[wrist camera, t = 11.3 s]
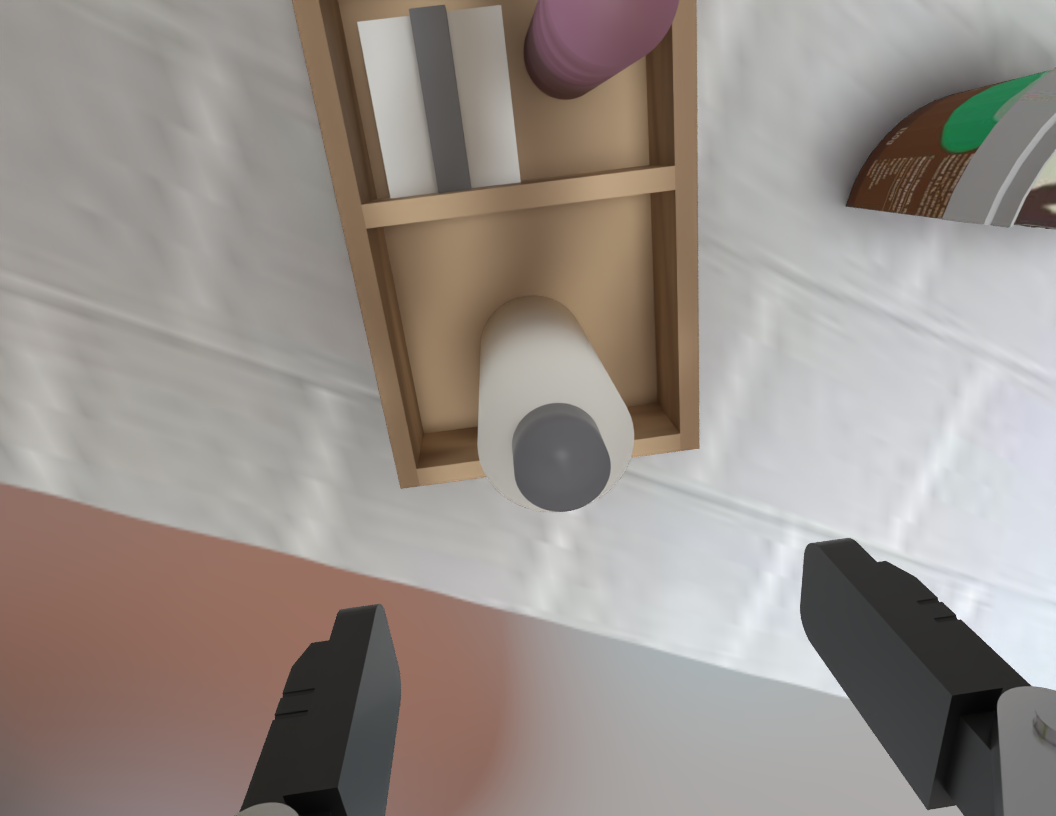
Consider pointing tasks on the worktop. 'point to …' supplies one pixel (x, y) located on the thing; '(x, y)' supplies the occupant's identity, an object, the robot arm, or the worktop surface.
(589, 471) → the bottle
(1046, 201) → the food container
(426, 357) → the caddy
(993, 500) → the worktop surface
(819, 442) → the worktop surface
